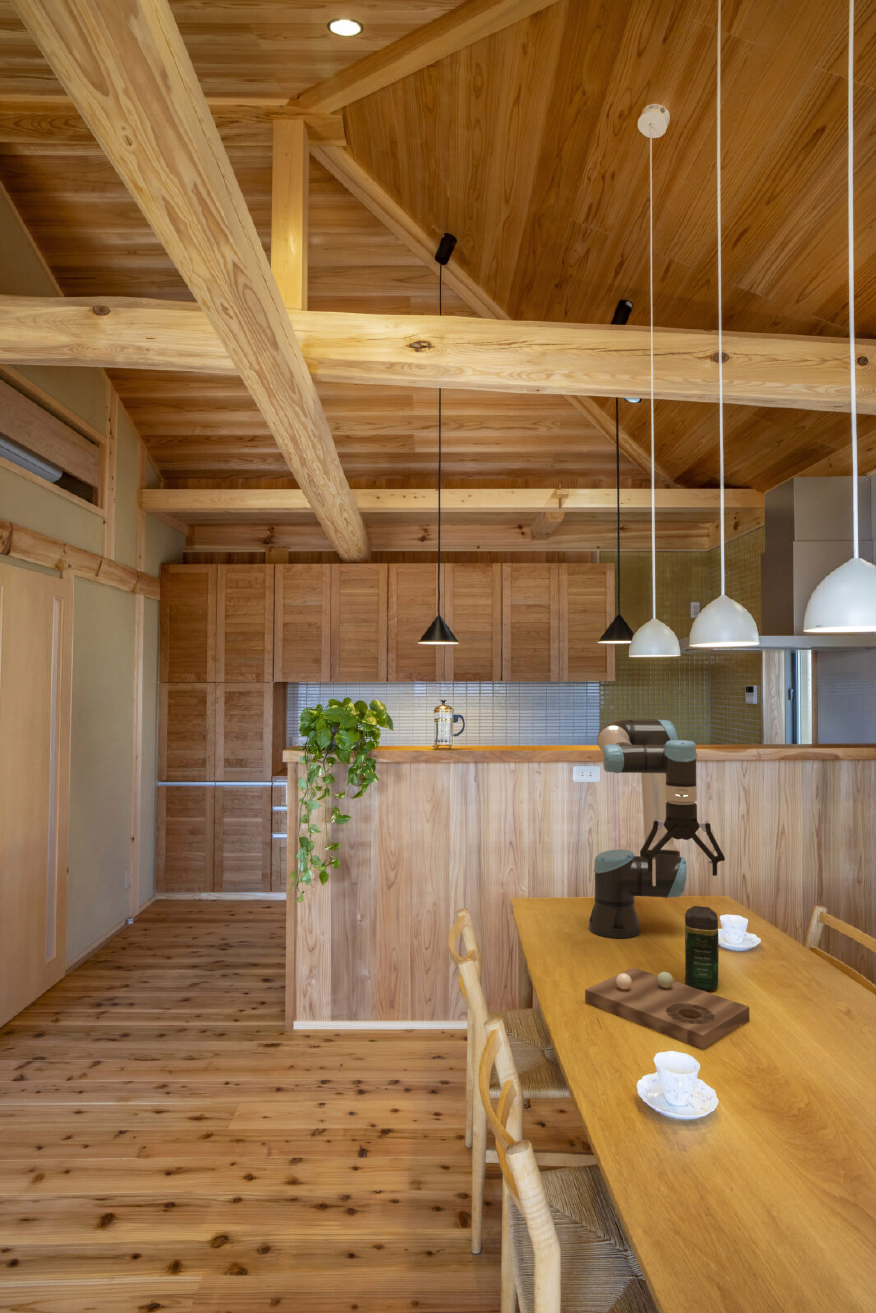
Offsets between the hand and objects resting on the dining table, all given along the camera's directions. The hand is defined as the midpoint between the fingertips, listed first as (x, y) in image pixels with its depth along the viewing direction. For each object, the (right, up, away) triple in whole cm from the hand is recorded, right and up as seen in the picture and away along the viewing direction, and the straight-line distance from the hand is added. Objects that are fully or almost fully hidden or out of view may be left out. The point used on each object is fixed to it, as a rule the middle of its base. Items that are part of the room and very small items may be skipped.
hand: (682, 886), depth 189 cm
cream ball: (-18, -19, -13) cm, 29 cm away
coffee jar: (+4, -24, -3) cm, 24 cm away
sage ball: (-8, -19, -12) cm, 23 cm away
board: (-10, -23, -17) cm, 31 cm away
